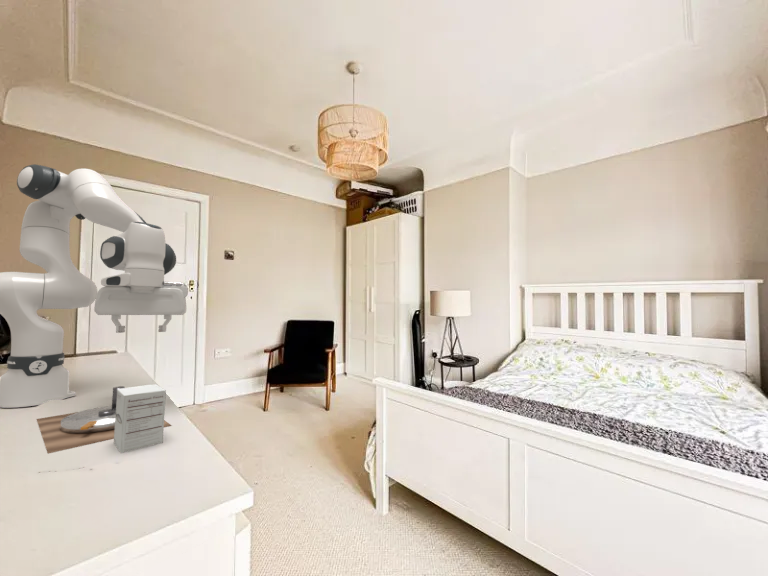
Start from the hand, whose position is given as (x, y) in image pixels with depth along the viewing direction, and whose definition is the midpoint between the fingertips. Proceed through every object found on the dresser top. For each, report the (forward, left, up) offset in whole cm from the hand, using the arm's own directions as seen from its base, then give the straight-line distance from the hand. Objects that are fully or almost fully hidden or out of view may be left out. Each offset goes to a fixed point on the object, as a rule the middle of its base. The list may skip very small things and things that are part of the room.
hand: (141, 332), depth 90 cm
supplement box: (+23, -5, -23) cm, 33 cm away
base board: (+3, -7, -23) cm, 24 cm away
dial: (+4, -8, -21) cm, 23 cm away
